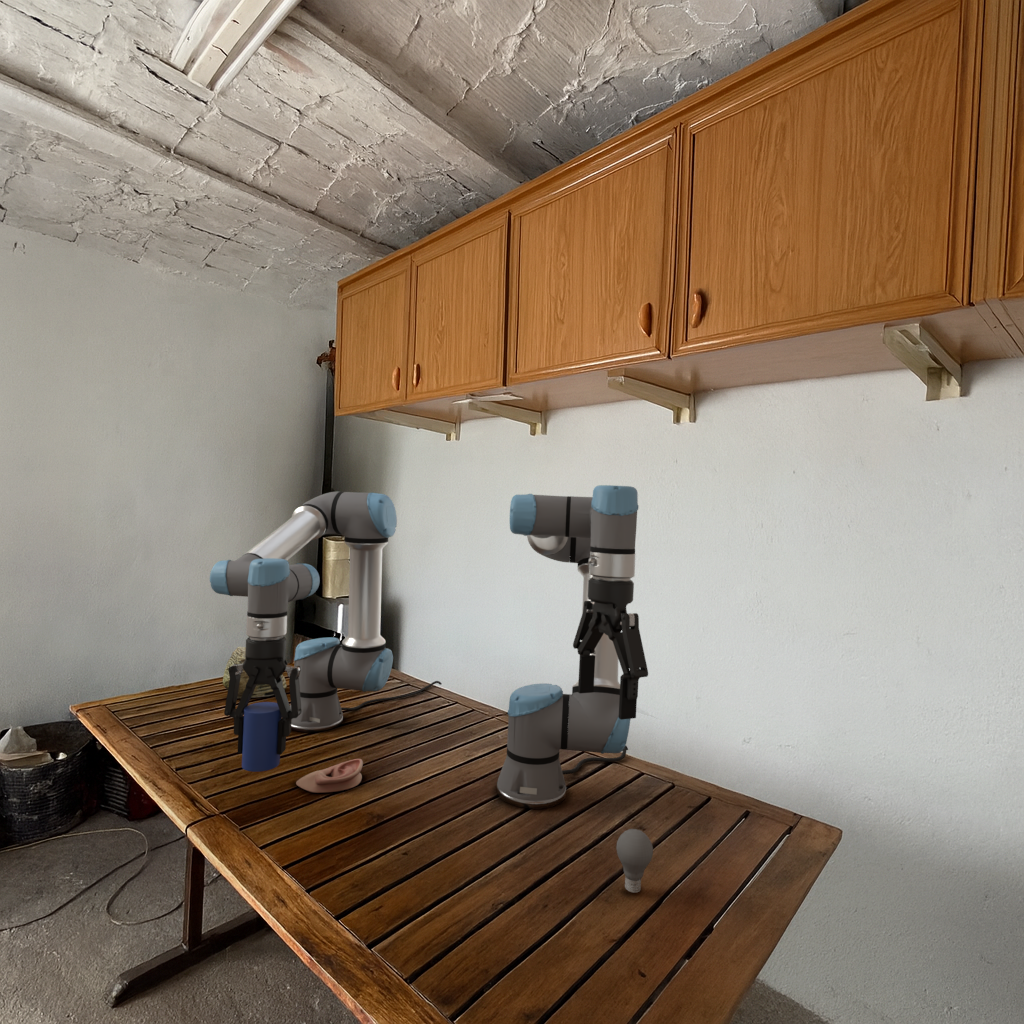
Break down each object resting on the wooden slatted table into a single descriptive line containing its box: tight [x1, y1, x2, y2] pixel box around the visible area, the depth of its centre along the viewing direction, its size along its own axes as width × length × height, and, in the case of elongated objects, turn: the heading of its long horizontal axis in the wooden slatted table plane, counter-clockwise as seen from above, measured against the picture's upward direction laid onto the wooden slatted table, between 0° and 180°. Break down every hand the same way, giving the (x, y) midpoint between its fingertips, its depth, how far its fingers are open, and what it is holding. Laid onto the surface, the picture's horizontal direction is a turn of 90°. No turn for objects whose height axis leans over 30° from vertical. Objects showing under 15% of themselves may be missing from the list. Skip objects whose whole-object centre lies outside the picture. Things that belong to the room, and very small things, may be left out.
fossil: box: [222, 646, 288, 699], centre depth 198 cm, size 9×18×15 cm, turn 132°
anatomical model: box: [295, 758, 364, 794], centre depth 140 cm, size 13×4×12 cm
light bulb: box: [615, 828, 654, 894], centre depth 106 cm, size 6×6×10 cm
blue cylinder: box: [241, 701, 282, 773], centre depth 126 cm, size 7×7×11 cm
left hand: (261, 751), depth 126 cm, fingers closed on blue cylinder, 7 cm apart
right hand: (605, 704), depth 106 cm, fingers open, 13 cm apart
